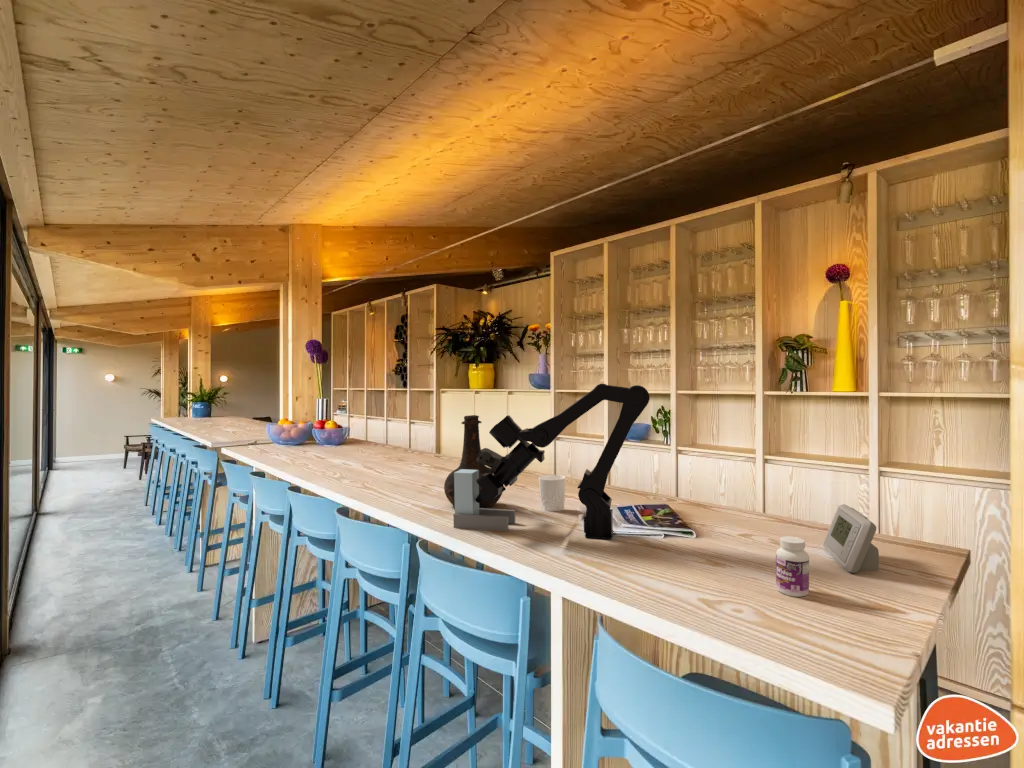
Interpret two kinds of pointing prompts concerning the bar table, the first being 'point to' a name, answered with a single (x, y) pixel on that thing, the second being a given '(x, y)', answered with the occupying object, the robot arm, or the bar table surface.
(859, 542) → the digital clock
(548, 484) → the white cup
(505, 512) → the chute
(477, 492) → the block
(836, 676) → the bar table surface
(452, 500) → the dark brown round-bodied bottle
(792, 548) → the pill bottle
